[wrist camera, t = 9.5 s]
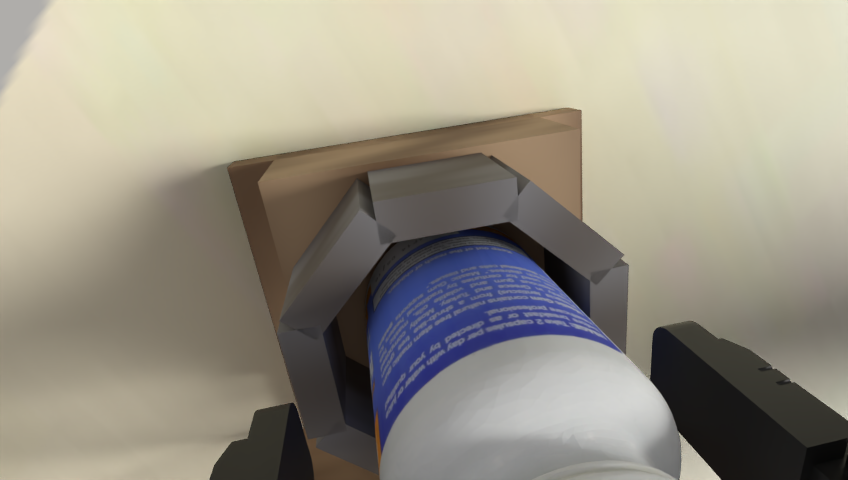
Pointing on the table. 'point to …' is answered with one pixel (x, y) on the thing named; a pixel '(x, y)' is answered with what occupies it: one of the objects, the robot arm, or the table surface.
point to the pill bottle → (501, 373)
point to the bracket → (398, 221)
